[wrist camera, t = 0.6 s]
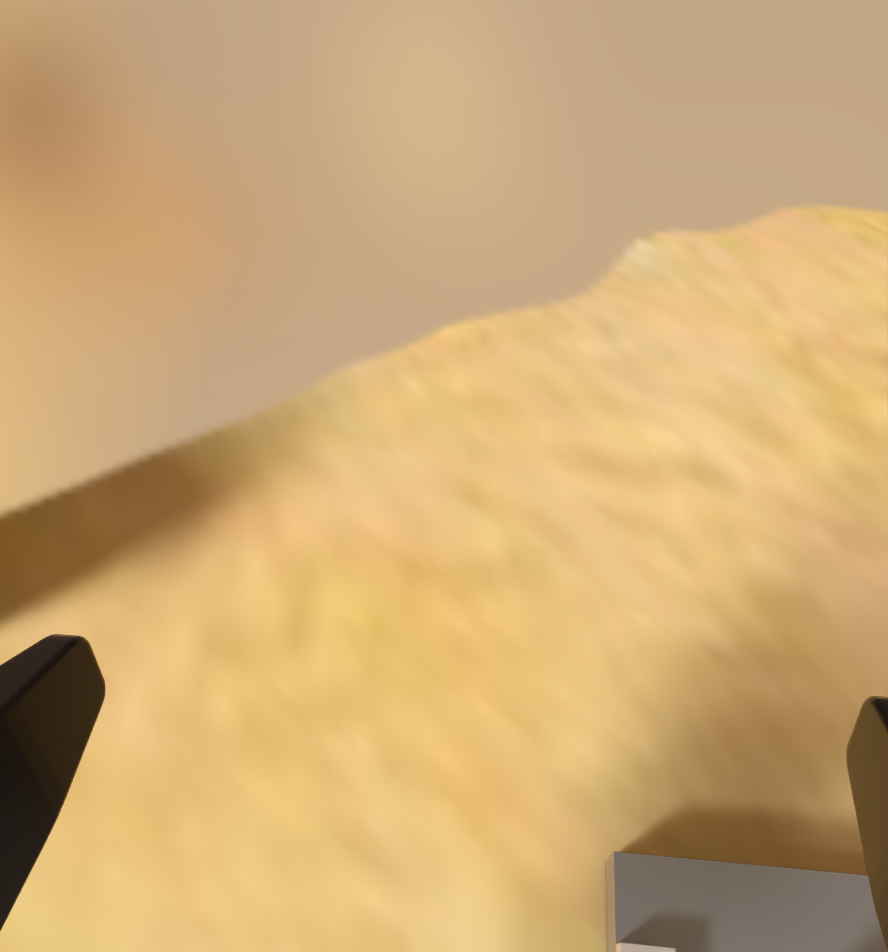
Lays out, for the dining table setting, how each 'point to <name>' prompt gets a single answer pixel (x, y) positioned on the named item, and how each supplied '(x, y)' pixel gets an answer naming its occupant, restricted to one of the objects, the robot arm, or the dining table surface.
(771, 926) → the fader console
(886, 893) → the robot arm
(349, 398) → the dining table surface
